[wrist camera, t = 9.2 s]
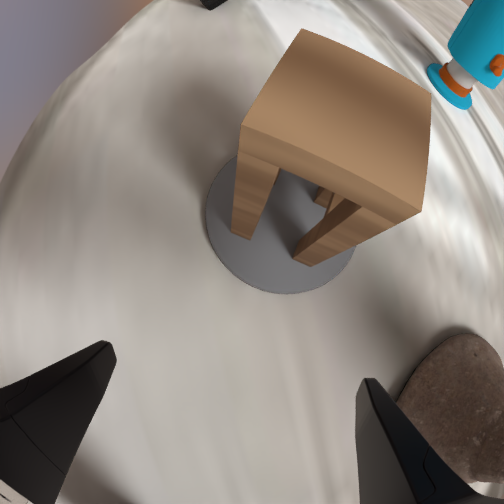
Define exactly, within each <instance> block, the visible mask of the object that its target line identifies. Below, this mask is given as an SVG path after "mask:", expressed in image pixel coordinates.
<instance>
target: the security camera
mask: <svg viewBox="0 0 504 504" xmlns="http://www.w3.org/2000/svg"><path fill="white" fill-rule="evenodd" d="M448 49H449V50H450V53H451V55H452V56H453V59H452V60H451V61H450V62H449V63H445V64H444V65H443V66H442V65H440V64H436V63H433V64H431V65H430V66H429V67H428V68H427V74H428V77H429V79H430V81H431V82H432V84H433V85H434V87H435V88H436V89H437V90H438V92H439V93H440V94H441V95H442V96H443V97H444V98H445V99H446V100H447V101H449V102H450V103H451V104H453V105H454V106H456V107H458V108H460V109H463V110H466V109H468V108H469V107H470V106H471V105H472V99H471V96H470V92H471V91H472V86H473V85H474V84H475V83H476V82H477V81H479V82H481V83H482V84H484V85H485V86H487V87H488V88H491V89H495V88H496V86H497V85H498V84H499V83H500V82H501V80H502V79H503V78H504V0H473V2H472V4H471V5H470V6H469V8H468V9H467V11H466V13H465V15H464V16H463V18H462V20H461V21H460V23H459V24H458V26H457V28H456V29H455V31H454V33H453V34H452V36H451V38H450V40H449V42H448Z"/></svg>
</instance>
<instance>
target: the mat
mask: <svg viewBox="0 0 504 504" xmlns="http://www.w3.org/2000/svg"><path fill="white" fill-rule="evenodd" d="M237 157H238V155H237V156H236V157H234V158H233V159H232V160H231V161H229V162H228V163H227V164H226V165H225V166H224V167H223V168H222V169H221V171H220V172H219V173H218V175H217V176H216V178H215V179H214V181H213V183H212V186H211V188H210V191H209V194H208V197H207V203H206V225H207V231H208V234H209V238H210V241H211V244H212V246H213V248H214V250H215V252H216V254H217V255H218V257H219V259H220V260H221V261H222V263H223V264H224V265H225V266H226V268H227V269H228V270H229V271H231V272H232V273H233V274H234V275H235V276H236V277H238V278H239V279H240V280H242V281H243V282H245V283H247V284H249V285H250V286H252V287H255V288H257V289H260V290H262V291H267V292H271V293H278V294H295V293H301V292H306V291H309V290H312V289H315V288H318V287H320V286H322V285H324V284H326V283H327V282H329V281H330V280H332V279H333V278H334V277H335V276H336V275H337V274H339V273H340V272H341V271H342V269H343V268H344V267H345V266H346V264H347V263H348V261H349V260H350V258H351V256H352V254H353V252H354V249H355V247H356V245H355V246H353V247H351V248H349V249H347V250H345V251H343V252H341V253H339V254H337V255H335V256H333V257H331V258H329V259H327V260H325V261H323V262H321V263H319V264H317V265H314V266H312V267H309V266H307V265H305V264H302V263H300V262H298V261H295V260H293V259H292V258H293V255H294V252H295V250H296V247H297V245H298V242H299V240H300V239H301V238H302V237H303V236H304V235H305V234H307V233H308V232H309V231H310V230H311V229H312V228H313V227H314V226H315V225H316V224H317V223H319V222H320V221H321V220H322V219H323V217H324V215H325V212H326V208H324V207H322V206H320V205H318V204H316V203H314V199H315V197H316V194H317V191H318V188H319V185H317V184H315V183H313V182H310V181H308V180H306V179H304V178H302V177H299V176H297V175H295V174H293V173H290V172H288V171H286V170H283V169H281V172H280V174H279V176H278V178H277V181H276V183H275V185H273V187H272V189H271V192H270V194H269V197H268V199H267V202H266V204H265V207H264V209H263V212H262V214H261V217H260V219H259V222H258V224H257V226H256V229H255V231H254V233H253V236H252V238H251V240H250V241H249V240H247V239H245V238H242V237H240V236H238V235H235V234H233V233H231V222H232V211H233V200H234V189H235V178H236V168H237Z"/></svg>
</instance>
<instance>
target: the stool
mask: <svg viewBox="0 0 504 504" xmlns="http://www.w3.org/2000/svg"><path fill="white" fill-rule="evenodd" d="M430 125H431V93H429V92H428V91H426V90H425V89H423V88H422V87H420V86H419V85H417V84H416V83H414V82H412V81H411V80H409V79H408V78H406V77H404V76H403V75H401V74H399V73H397V72H396V71H394V70H392V69H390V68H389V67H387V66H385V65H383V64H381V63H379V62H378V61H376V60H374V59H372V58H370V57H368V56H366V55H364V54H362V53H360V52H358V51H355V50H353V49H351V48H349V47H347V46H345V45H342V44H340V43H338V42H335V41H333V40H331V39H328V38H326V37H323V36H321V35H318V34H316V33H313V32H310V31H308V30H305V29H301V30H300V31H299V33H298V34H297V36H296V37H295V39H294V40H293V42H292V43H291V45H290V46H289V48H288V49H287V51H286V52H285V54H284V55H283V57H282V58H281V60H280V61H279V63H278V64H277V66H276V67H275V69H274V71H273V72H272V74H271V75H270V77H269V78H268V80H267V82H266V83H265V85H264V87H263V88H262V90H261V91H260V93H259V95H258V96H257V98H256V100H255V101H254V103H253V105H252V106H251V108H250V110H249V111H248V113H247V115H246V116H245V118H244V120H243V122H242V123H241V128H240V138H239V147H238V157H237V168H236V178H235V189H234V200H233V211H232V222H231V233H233V234H235V235H238V236H240V237H242V238H245V239H247V240H249V241H250V240H251V238H252V236H253V233H254V231H255V229H256V226H257V224H258V222H259V219H260V217H261V214H262V212H263V209H264V207H265V204H266V202H267V199H268V197H269V194H270V192H271V189H272V187H273V185H275V183H276V181H277V178H278V176H279V174H280V172H281V169H283V170H286V171H288V172H290V173H293V174H295V175H297V176H299V177H302V178H304V179H306V180H308V181H310V182H313V183H315V184H317V185H319V188H318V191H317V194H316V197H315V199H314V203H316V204H318V205H320V206H322V207H324V208H326V212H325V215H324V217H323V219H322V220H321V221H320V222H319V223H317V224H316V225H315V226H314V227H313V228H312V229H311V230H310V231H309V232H308V233H307V234H305V235H304V236H303V237H302V238H301V239H300V240H299V242H298V245H297V247H296V250H295V252H294V255H293V258H292V259H293V260H295V261H298V262H300V263H302V264H305V265H307V266H309V267H312V266H314V265H317V264H319V263H321V262H323V261H325V260H327V259H329V258H331V257H333V256H335V255H337V254H339V253H341V252H343V251H345V250H347V249H349V248H351V247H353V246H355V245H358V244H360V243H362V242H364V241H366V240H367V239H369V238H371V237H373V236H375V235H377V234H379V233H381V232H383V231H385V230H387V229H389V228H391V227H393V226H395V225H397V224H399V223H401V222H403V221H405V220H406V219H408V218H410V217H412V216H414V215H416V214H418V213H420V212H421V211H422V204H423V198H424V191H425V183H426V175H427V166H428V156H429V143H430Z"/></svg>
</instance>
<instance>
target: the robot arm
mask: <svg viewBox="0 0 504 504" xmlns="http://www.w3.org/2000/svg"><path fill="white" fill-rule="evenodd" d="M116 361H117V359H116V355H115V352H114V349H113V346H112V344H111V343H110V342H107V341H104V340H101V341H98V342H96V343H94V344H92V345H90V346H88V347H86V348H84V349H82V350H80V351H78V352H76V353H74V354H72V355H70V356H68V357H66V358H64V359H62V360H60V361H58V362H56V363H54V364H52V365H50V366H48V367H46V368H44V369H42V370H40V371H38V372H36V373H34V374H32V375H31V376H28V377H26V378H24V379H22V380H20V381H17V382H15V383H13V384H10V385H8V386H5V387H3V388H0V504H27V502H28V501H30V502H32V503H33V504H55V501H56V499H57V496H58V494H59V491H60V489H61V487H62V484H63V482H64V479H65V477H66V474H67V472H68V470H69V468H70V465H71V463H72V461H73V458H74V456H75V454H76V452H77V450H78V447H79V445H80V443H81V441H82V439H83V437H84V435H85V433H86V430H87V428H88V426H89V424H90V422H91V420H92V418H93V416H94V414H95V412H96V410H97V408H98V406H99V404H100V402H101V400H102V398H103V396H104V394H105V391H106V389H107V386H108V383H109V381H110V378H111V375H112V373H113V370H114V368H115V365H116ZM355 439H356V451H357V463H358V477H359V494H360V504H504V499H500V498H494V497H488V496H484V495H482V494H480V493H478V492H476V491H475V490H473V489H472V488H471V487H470V486H469V485H468V484H467V483H466V482H465V481H464V480H463V479H462V478H461V477H460V476H458V475H457V474H456V473H455V472H454V471H453V470H452V469H451V468H450V467H449V466H448V465H447V464H446V463H445V462H444V460H443V459H442V458H441V457H440V456H439V455H438V454H437V452H436V451H435V450H434V449H433V447H432V446H431V445H429V443H428V441H427V440H426V439H425V438H424V437H423V435H422V434H421V433H420V432H419V430H418V429H417V428H416V427H415V426H414V424H413V423H412V422H411V421H410V419H409V418H408V417H407V416H406V415H405V413H404V412H403V411H402V410H401V409H400V407H399V406H398V405H397V404H396V403H395V401H394V400H393V399H392V398H391V396H390V395H389V394H388V393H387V392H386V390H385V389H384V388H383V387H382V386H381V384H380V383H379V382H378V381H377V380H376V379H375V378H364V379H363V380H362V382H361V384H360V387H359V389H358V391H357V394H356V424H355Z"/></svg>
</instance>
